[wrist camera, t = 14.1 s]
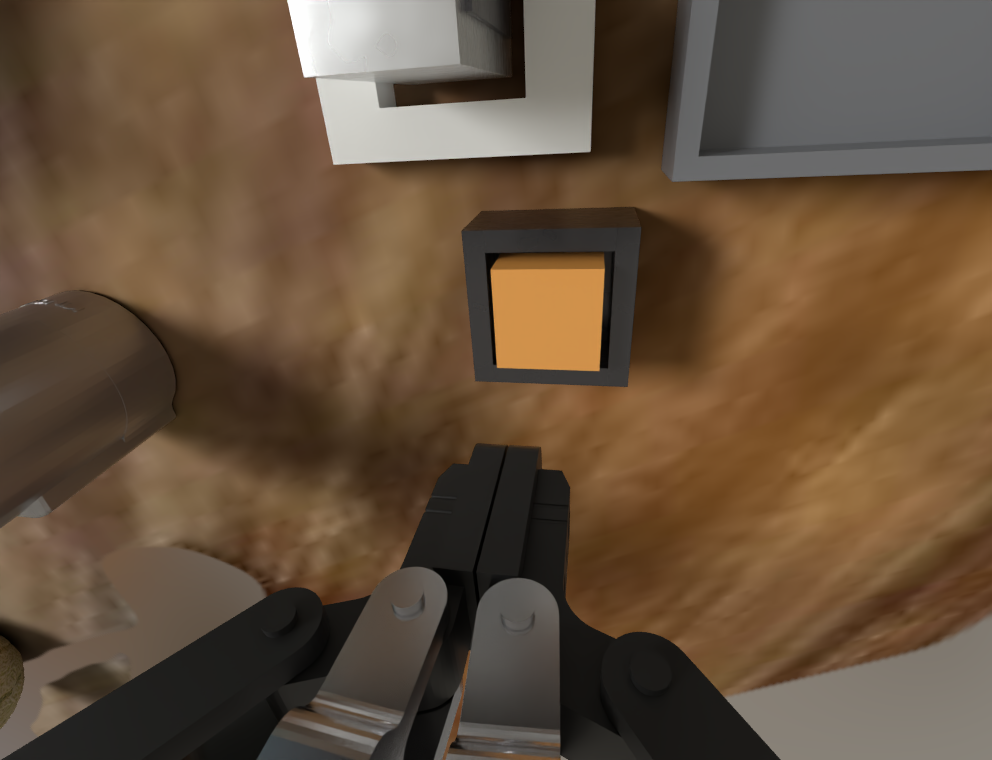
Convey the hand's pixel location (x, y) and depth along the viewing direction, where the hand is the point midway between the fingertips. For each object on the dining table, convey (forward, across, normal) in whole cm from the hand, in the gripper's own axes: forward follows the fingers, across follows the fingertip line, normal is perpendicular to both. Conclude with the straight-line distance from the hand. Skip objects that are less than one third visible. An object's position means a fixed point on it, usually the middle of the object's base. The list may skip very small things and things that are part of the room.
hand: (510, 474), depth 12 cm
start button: (+12, 0, 0) cm, 12 cm away
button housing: (+15, 0, 0) cm, 15 cm away
